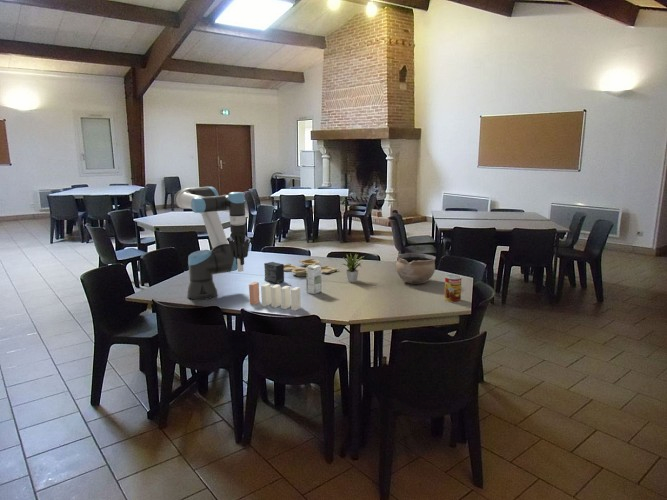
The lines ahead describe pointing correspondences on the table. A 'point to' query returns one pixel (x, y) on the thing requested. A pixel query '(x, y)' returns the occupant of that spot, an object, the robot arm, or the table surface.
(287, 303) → the domino
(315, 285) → the syrup box
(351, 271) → the house plant
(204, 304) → the table surface
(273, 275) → the small box
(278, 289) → the domino
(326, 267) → the tableware set
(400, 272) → the ceramic bowl
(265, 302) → the domino
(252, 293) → the domino
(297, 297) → the domino
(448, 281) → the canned food
